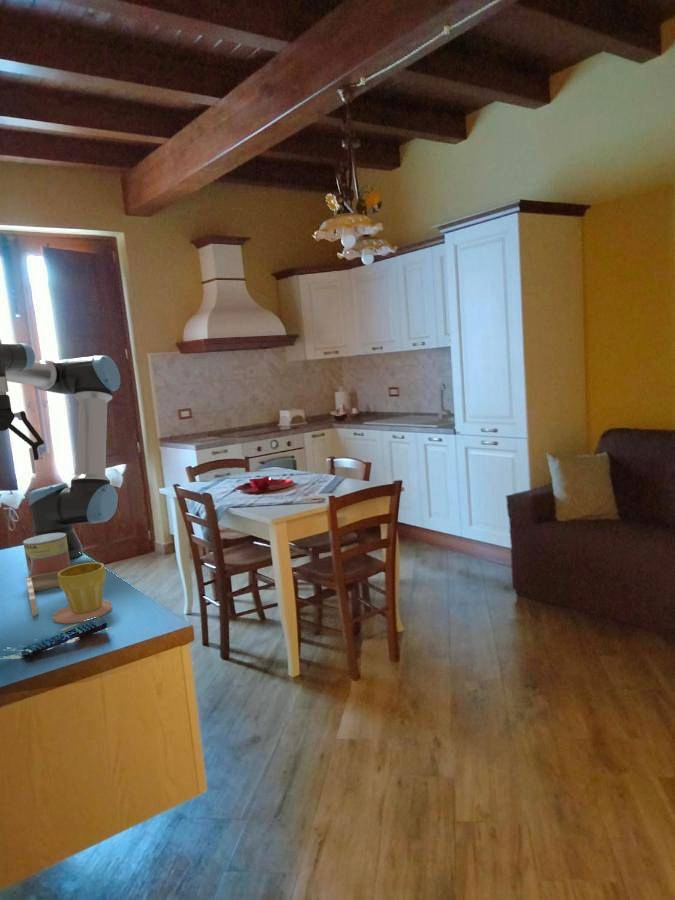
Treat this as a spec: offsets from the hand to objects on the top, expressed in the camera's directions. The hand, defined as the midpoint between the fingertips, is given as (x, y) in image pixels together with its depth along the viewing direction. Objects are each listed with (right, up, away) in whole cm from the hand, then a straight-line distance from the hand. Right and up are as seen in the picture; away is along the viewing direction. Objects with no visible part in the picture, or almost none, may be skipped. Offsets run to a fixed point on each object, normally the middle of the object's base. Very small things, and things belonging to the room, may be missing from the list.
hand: (5, 477), depth 169 cm
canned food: (+4, -30, +17) cm, 35 cm away
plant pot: (+26, -31, -14) cm, 43 cm away
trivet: (+25, -31, -14) cm, 43 cm away
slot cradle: (+15, -31, 0) cm, 34 cm away
